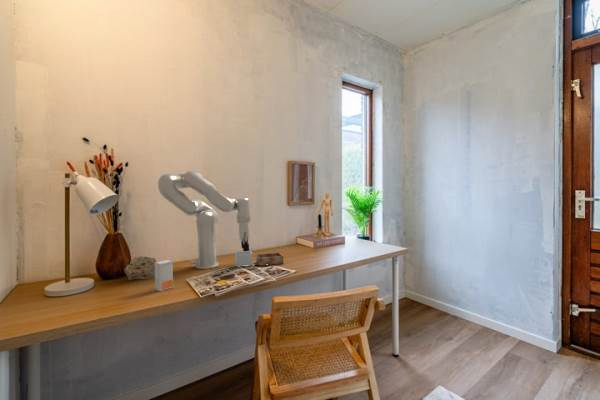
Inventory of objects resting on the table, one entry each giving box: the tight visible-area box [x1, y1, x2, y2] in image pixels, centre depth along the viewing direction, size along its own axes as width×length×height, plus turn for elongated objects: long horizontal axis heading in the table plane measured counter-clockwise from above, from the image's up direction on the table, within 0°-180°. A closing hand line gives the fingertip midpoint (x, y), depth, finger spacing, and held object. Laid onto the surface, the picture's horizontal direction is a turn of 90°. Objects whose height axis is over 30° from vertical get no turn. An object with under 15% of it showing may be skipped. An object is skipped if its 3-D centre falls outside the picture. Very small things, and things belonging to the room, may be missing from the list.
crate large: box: [256, 252, 284, 266], centre depth 161 cm, size 14×10×4 cm
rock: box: [124, 256, 157, 281], centre depth 140 cm, size 21×14×10 cm
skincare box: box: [154, 259, 174, 292], centre depth 120 cm, size 6×4×12 cm
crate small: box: [234, 250, 254, 267], centre depth 157 cm, size 9×6×7 cm
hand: (245, 249), depth 156 cm, fingers open, 9 cm apart
